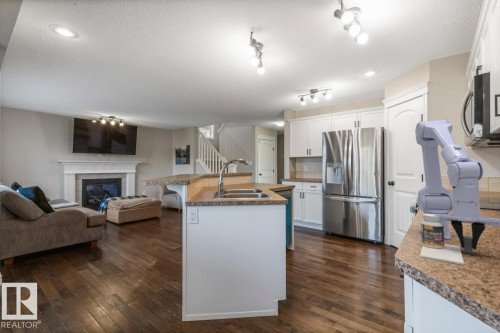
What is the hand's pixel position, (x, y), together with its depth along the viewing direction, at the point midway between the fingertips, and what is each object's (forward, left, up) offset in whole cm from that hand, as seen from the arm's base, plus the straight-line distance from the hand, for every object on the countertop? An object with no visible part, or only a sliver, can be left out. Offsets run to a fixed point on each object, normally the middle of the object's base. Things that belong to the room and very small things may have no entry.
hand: (468, 247), depth 66 cm
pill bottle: (0, -8, -1) cm, 8 cm away
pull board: (+3, -5, -2) cm, 6 cm away
